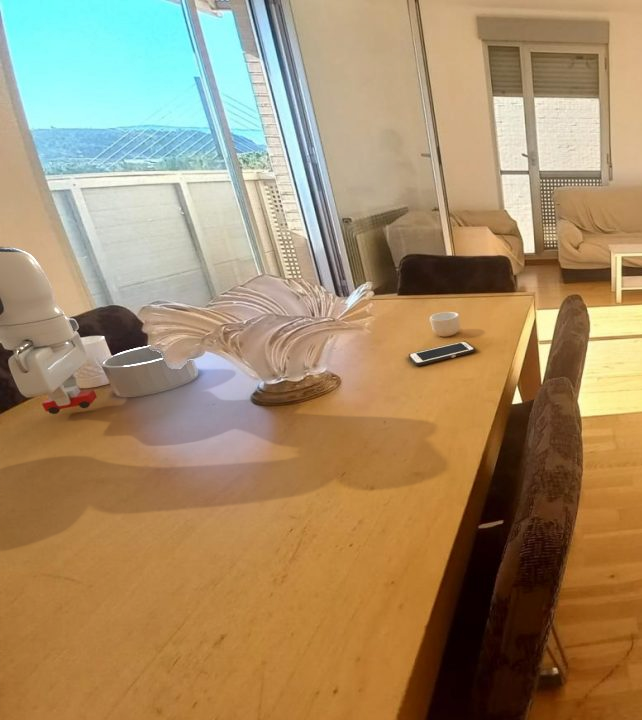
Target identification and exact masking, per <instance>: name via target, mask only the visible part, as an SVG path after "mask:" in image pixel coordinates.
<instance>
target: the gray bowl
mask: <svg viewBox="0 0 642 720" xmlns="http://www.w3.org/2000/svg"><path fill="white" fill-rule="evenodd" d="M149 346H150V345H147V346H142V347H136V348H133V349H129V350H125V351H122V352H119V353H117V354H114V355H112V356H111V357H109V358H107V359H105V360H103V361H102V362H101V363H100V364H101V366H102V368H103V370H104V372H105V374H106V376H107V378H108V380H109V382H110V383H109V384H110V386H111V388H112V391H113V392H114V394H115V395H116V396H117V397H119V398H120V397H122V398H134V397H144V396H149V395H153V394H159V393H162V392H166V391H169V390H173V389H176V388H178V387H181V386H184V385H186V384H188V383H190V382H192V381H194V380H195V379H197V377H198V376H199V369H198V368H197V365H196V363H195V360H194V359H193V360H189V361H187V363H186V364H185V365H184V366H183V367H182V368H181V369H171V368H169V367H168V366H167V364H166V362H165V361H164V359H163V357H162V355H161V353H159V352H157V351H152V350H150V349H149Z"/></svg>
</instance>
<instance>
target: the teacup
mask: <svg viewBox="0 0 642 720" xmlns="http://www.w3.org/2000/svg"><path fill="white" fill-rule="evenodd" d="M460 321H461V319H460V314H459V313H458V312H455V311H442V312H437V313H434V314H432V315H430V316H429V322H430V326H431V328H432V331H433V333H434V334H435V335H436V336H439V337H443V338H448V337H452V336H454V335H456V334H457V333H458V332H459V330H460V327H461V322H460Z"/></svg>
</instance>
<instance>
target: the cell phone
mask: <svg viewBox="0 0 642 720" xmlns="http://www.w3.org/2000/svg"><path fill="white" fill-rule="evenodd" d="M475 352H476V348H475V347H474V346H473V345H471V343H469V342H467V341H465V340H461V341H458V342H453V343H449V344H445V345H441V346H437V347H431V348H428V349H423V350H420V351H415V352H410V353H408V359H409V360H410V361H411V362H412V363H413V364H414V366H417V367H421V366H424V365H428V364H433V363H437V362H440V361H444V360H445V361H446V360H449V359H453V358H457V357H461V356H465V355H468V354H472V353H475Z"/></svg>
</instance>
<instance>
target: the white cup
mask: <svg viewBox="0 0 642 720" xmlns="http://www.w3.org/2000/svg"><path fill="white" fill-rule="evenodd" d="M80 338H81V341H82V343H83V346H84V349H85V352H86V356H87V361H86V362H85V363H84V364H83V365H82V366H81V367H80V368H79V369H78V370H76V371H75V373H76V375H77V383H78V387H79V389H93V388H98V387H102V386H106V385H109V384H110V382H109V380H108V378H107V376H106V374H105V372H104V370H103V368H102V366H101V364H100V363H101V362H102V361H103V360H105V359H107V358H109V357H111V356H113V355H112V353H111V351H110V347H109V346H108V343H107V341H106V338H105V336H104V335H89V336H83V337H80Z"/></svg>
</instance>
